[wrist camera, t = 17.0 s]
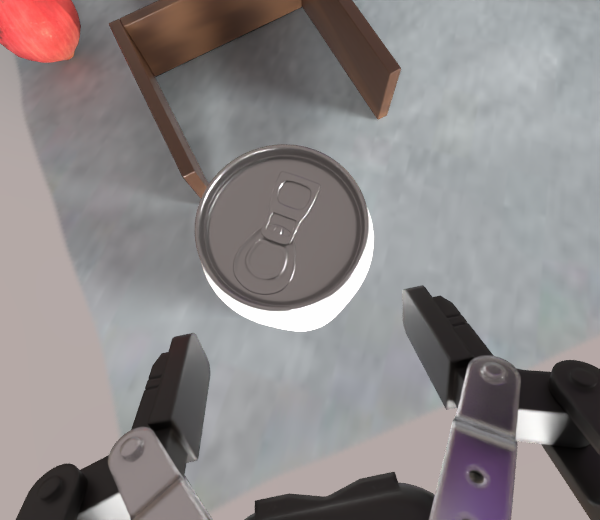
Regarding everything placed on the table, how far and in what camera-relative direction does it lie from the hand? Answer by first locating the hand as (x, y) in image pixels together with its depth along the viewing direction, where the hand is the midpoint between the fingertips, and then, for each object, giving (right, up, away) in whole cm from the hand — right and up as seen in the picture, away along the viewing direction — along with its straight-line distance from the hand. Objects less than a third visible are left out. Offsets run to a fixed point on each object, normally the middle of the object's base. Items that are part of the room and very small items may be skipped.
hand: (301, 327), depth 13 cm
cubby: (-3, +15, +13) cm, 20 cm away
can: (0, +1, +10) cm, 10 cm away
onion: (-19, +19, +15) cm, 31 cm away
